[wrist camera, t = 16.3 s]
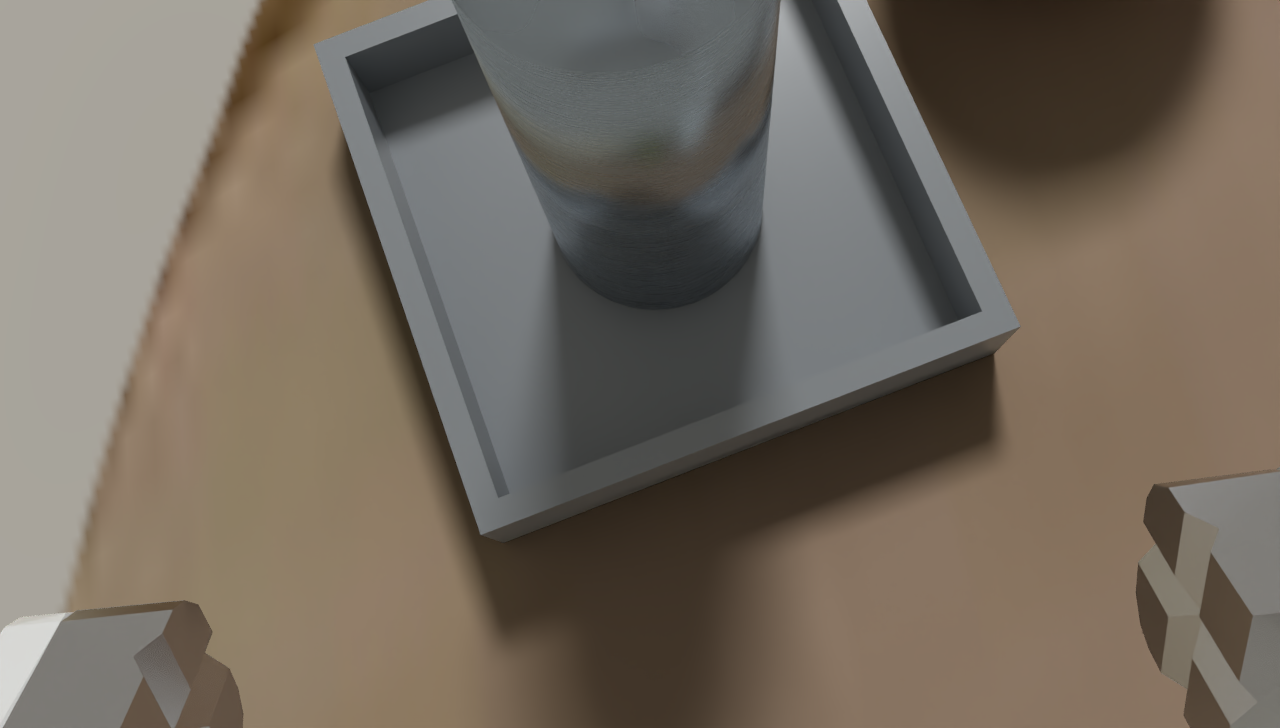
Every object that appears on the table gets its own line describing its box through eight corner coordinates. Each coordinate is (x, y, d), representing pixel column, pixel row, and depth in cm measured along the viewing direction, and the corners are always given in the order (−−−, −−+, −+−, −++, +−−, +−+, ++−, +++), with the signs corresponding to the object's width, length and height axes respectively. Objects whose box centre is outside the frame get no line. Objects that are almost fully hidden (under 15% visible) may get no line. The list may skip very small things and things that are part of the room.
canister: (716, 82, 28) (710, -298, 17) (794, 264, 27) (845, -7, 16) (524, 154, 28) (384, -177, 17) (594, 340, 27) (495, 125, 16)
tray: (793, -80, 30) (799, -142, 27) (994, 353, 27) (1020, 326, 25) (347, 91, 30) (313, 44, 27) (503, 542, 27) (480, 535, 25)
